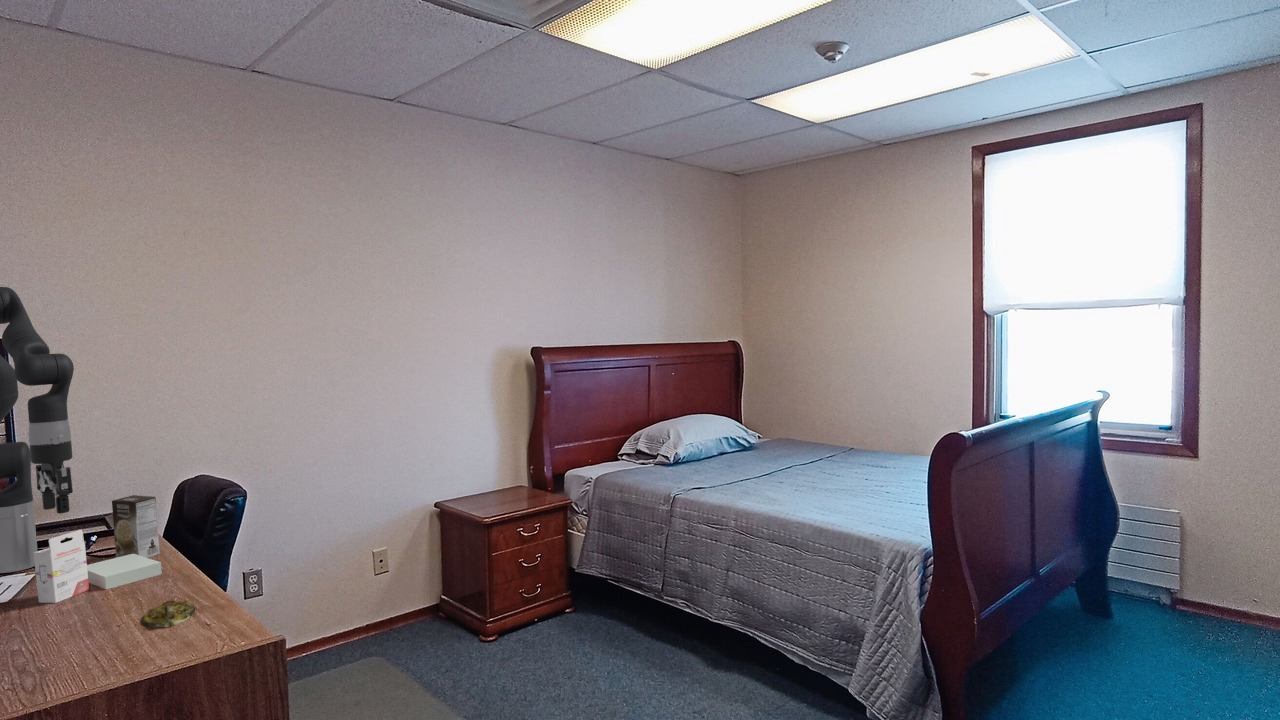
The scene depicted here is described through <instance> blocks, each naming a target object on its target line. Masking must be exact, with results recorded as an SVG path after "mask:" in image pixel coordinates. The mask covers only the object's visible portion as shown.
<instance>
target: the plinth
mask: <svg viewBox="0 0 1280 720" xmlns="http://www.w3.org/2000/svg"><path fill="white" fill-rule="evenodd" d="M87 571H88V582H89V584H92V585H94V586H97V587H98V588H101V589H104V590H109V589H114V588H116V587H120V586H123V585H124V586H125V585H128V584H131V583H135V582H139V581H142V580H146V579H149V578H153V577H157V576H161V575H163V574H162V573H163V571H162V562H161V561H158V560H155V559H152V558H150V557H149V558H146V557H143V556H139V555H136V554H130V555H126V556H121V557H117V558H116V557H114V558H109V559H105V560H102V561H98V562H94V563H93V562H92V563H90V564H87Z"/></svg>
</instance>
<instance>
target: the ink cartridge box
mask: <svg viewBox="0 0 1280 720" xmlns="http://www.w3.org/2000/svg"><path fill="white" fill-rule="evenodd" d="M66 539H71V540H68V541H65V540H66ZM61 541H65V542H61ZM86 553H87V551H86V543H85V540H84V533H83V530H82V529H78V530H76V531H71V532H67V533H65V534H61V535H59V536H55V537H51V538H49V539H48V548H44V549H42V550H37V552H34V561H35V566H34V569H35V579H36V588H37V598H38V599H37V600H38V604H39V603H41V604H42V603H43V604H56V603H59V602H62V601H64V600H66V599H69V598H73V597H75V596H77V595H80V594H82V593H84V592H89V590H90V586H89V585H90V583H89V582H88V571H87V565H88V563H87V554H86Z"/></svg>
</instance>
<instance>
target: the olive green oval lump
mask: <svg viewBox="0 0 1280 720" xmlns="http://www.w3.org/2000/svg"><path fill="white" fill-rule="evenodd" d="M194 613H196V606H195V604H193V603H191V602H190V601H189V600H186V599H185V600H184V601H182V600H181V601H180V600H166V601H165V602H163V603H162V604H160V605H157V606H155V607H153V608H150V609H148V611H147V612H146V613H145V614H144V615H143V618H142V620H143V624H144V625H145V626H147V627H150V628H157V627H165V628H172V627H171V626H173V627H175V626H177V624H178V625H180V624H182V623H181V622H183V623H184V621H185V620H186V621H188V620H190V619H191V618H192V617H193V616H194V615H195V614H194ZM192 615H193V616H192ZM191 616H192V617H191ZM190 617H191V618H190ZM189 618H190V619H189ZM187 619H188V620H187ZM186 621H185V622H186ZM179 623H180V624H179ZM174 625H175V626H174Z"/></svg>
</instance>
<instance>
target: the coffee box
mask: <svg viewBox="0 0 1280 720" xmlns="http://www.w3.org/2000/svg"><path fill="white" fill-rule="evenodd" d="M111 507H112V520H113V521H112V522H113V535H114V546H115V548H114V549H115V558H117V557H121V556H126V555H130V554H136V555H139V556H143V557H146V558H149V559H150V558H152V557H154V556H158V555H160V540H159V539H160V538H159V537H160V536H159V525H158V523H159V522H158V509H157V496H149V495H137V494H132V495H129V496H123V497H121V498H116V499H113V500H111ZM157 554H158V555H157Z"/></svg>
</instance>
